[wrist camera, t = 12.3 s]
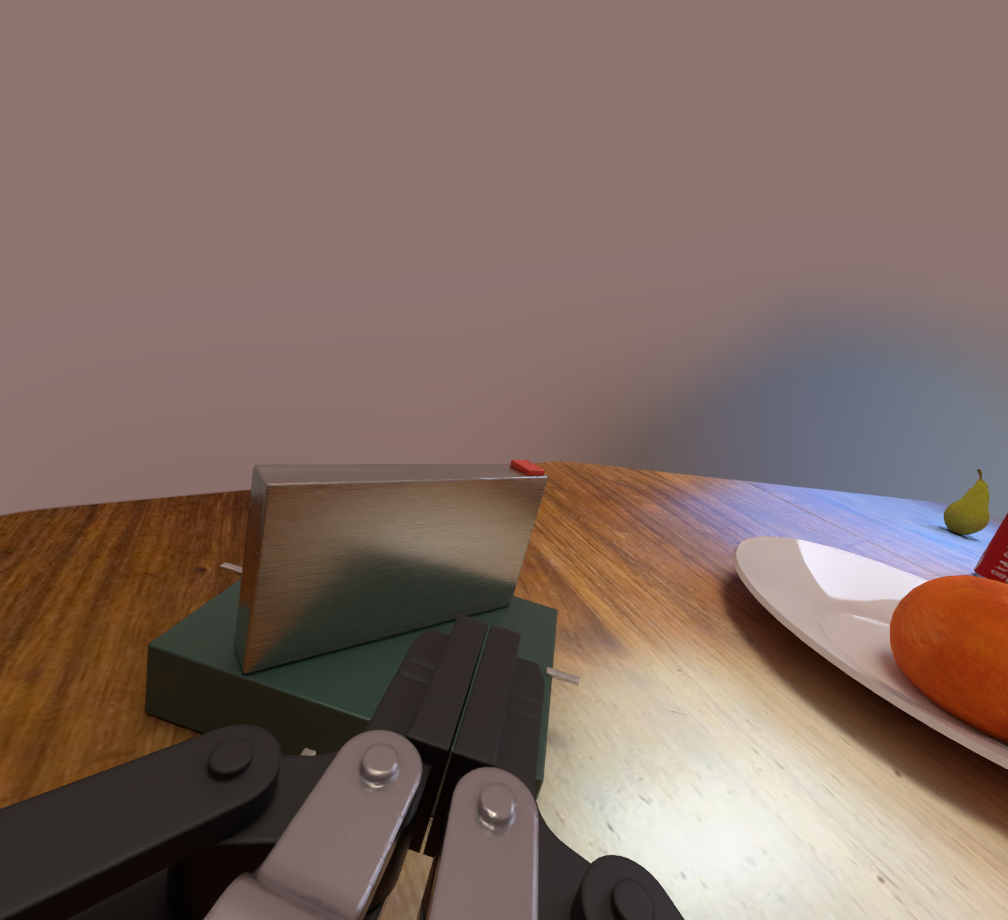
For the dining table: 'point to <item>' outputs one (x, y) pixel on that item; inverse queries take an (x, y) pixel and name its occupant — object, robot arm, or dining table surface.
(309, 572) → the upright slab
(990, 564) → the soda can
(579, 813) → the dining table surface
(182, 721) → the base block
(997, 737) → the plate
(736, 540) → the dining table surface
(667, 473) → the dining table surface
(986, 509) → the fruit
